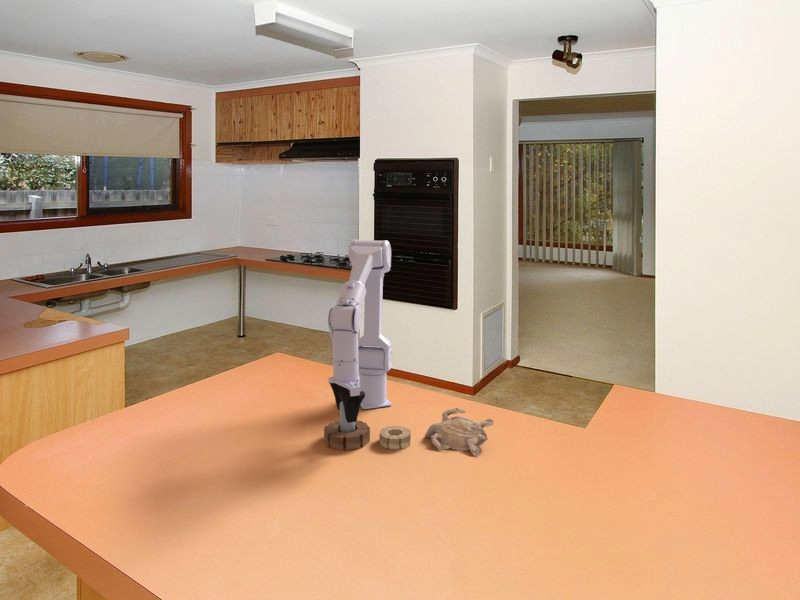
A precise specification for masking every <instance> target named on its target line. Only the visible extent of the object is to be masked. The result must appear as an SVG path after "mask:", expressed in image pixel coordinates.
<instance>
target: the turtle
mask: <svg viewBox="0 0 800 600" xmlns="http://www.w3.org/2000/svg"><path fill="white" fill-rule="evenodd" d="M465 413H466V410H464V409H462V408H459V407H454V408H447V409H446V410H444V411H443V412H442V414H441V416H442V419H441V422H434V423H432V424H431V425H430V426H429V427H428V429H427V431H426V433H425V434H424V438H430V440H431V443H432V444H433V446H435V447H436V448H437V449H439V450H442V451H443V450H448V449H451V450H453V451H459V452H467V451H470V452H471V454H472V455H473V456H475V457H478V456H479V455H480V454H481V452H480V448H479V447H481V446H482V445H483V444H485V442H486V441H488V435H487V432H486V430H485V429H484V428H485V427H491V426H492V425H493V426H494V419H493V418H487V419H485V420H482V421H480V422H478V421H476V420H474V419H471V418H468V417H465V416H452V417H449V416H450V415H457V414H465Z"/></svg>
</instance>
